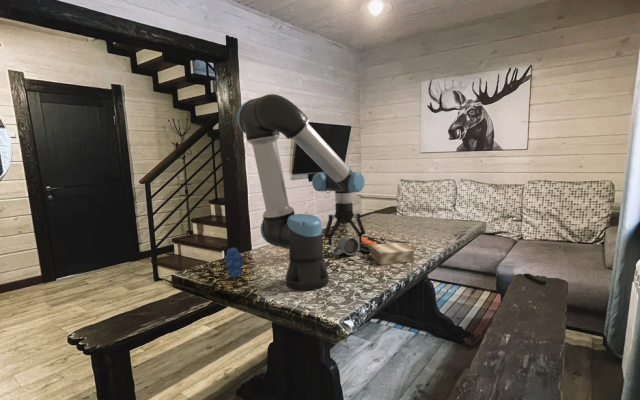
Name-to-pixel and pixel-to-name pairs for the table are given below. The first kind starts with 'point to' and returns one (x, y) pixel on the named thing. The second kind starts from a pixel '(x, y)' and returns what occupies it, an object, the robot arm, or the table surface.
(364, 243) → the sushi plate
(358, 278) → the table surface
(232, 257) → the grapes
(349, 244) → the ceramic mug
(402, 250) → the birch block
